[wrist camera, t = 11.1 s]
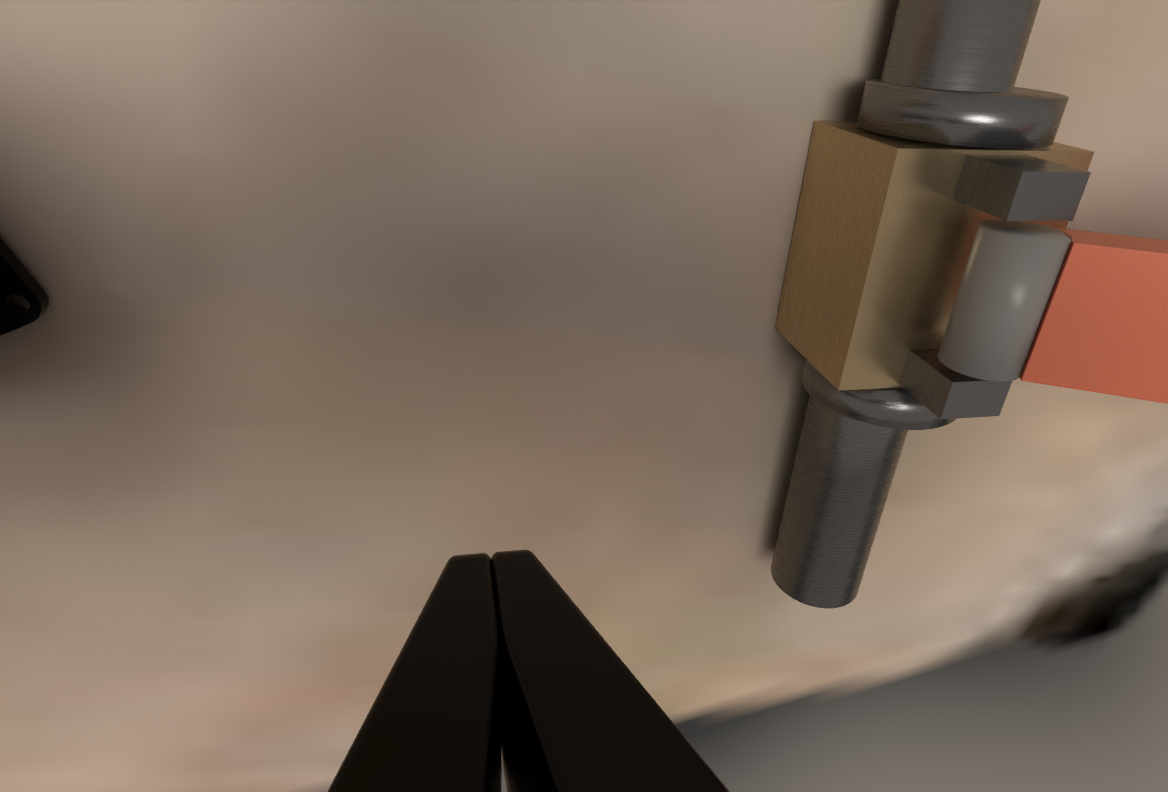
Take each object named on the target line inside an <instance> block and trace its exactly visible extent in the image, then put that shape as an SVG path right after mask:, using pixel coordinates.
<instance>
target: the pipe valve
mask: <svg viewBox="0 0 1168 792" xmlns="http://www.w3.org/2000/svg"><path fill="white" fill-rule="evenodd" d="M1040 1H1041V0H899V2H898V6H897V11H896V15H895V19H894V24H893V28H892V33H891V37H890V42H889V46H888V50H887V55H886V59H885V64H884V68H883V73H882V77H881V78H878V79H868V80H866V83H865V88H864V93H863V97H862V102H861V106H860V111H859V116H858V120H857V122H850V121H814V126H813V131H812V137H811V142H810V147H809V152H808V158H807V163H806V168H805V173H804V179H803V184H802V189H801V195H800V200H799V205H798V210H797V216H796V221H795V226H794V231H793V237H792V242H791V247H790V253H789V258H788V263H787V268H786V274H785V279H784V284H783V289H782V295H781V300H780V305H779V311H778V316H777V321H776V326H775V329H776V330H777V331H778V332H779V333H780V334H781V335H782V336H783V337H784V338H785V339H786V340H787V341H788V342H789V343H790V344H791V345H792V346H793V347H794V348H796V349H797V350H798V351H799V352H800V353H801V354H802V355H803V356H804V357H805V358H806V360H805V365H804V369H803V374H802V383H803V385H804V387H805V389H806V390H807V392H808V393H809V394H810V396H809V400H808V405H807V409H806V414H805V418H804V422H803V427H802V431H801V436H800V440H799V445H798V449H797V453H796V458H795V462H794V467H793V471H792V476H791V480H790V484H789V489H788V493H787V498H786V502H785V507H784V511H783V515H782V520H781V524H780V529H779V533H778V538H777V542H776V546H775V551H774V555H773V560H772V564H771V574H772V577H773V579H774V581H775V582H776V584H777V585H778V586H779V588H780V589H781V590H782V591H783V592H785V593H786V594H787V595H789V596H790V597H792V598H793V599H795V600H797V601H799V602H801V603H804V604H807V605H810V606H814V607H819V608H837V607H841V606H845V605H847V604H849V603H850V602H852V601H853V600H854V598H855V597H856V595H857V593H858V589H859V586H860V583H861V580H862V576H863V573H864V570H865V567H866V564H867V560H868V557H869V554H870V551H871V547H872V544H873V541H874V538H875V534H876V531H877V528H878V525H879V521H880V518H881V515H882V512H883V509H884V505H885V502H886V499H887V496H888V492H889V489H890V486H891V483H892V479H893V476H894V473H895V470H896V467H897V463H898V460H899V457H900V454H901V450H902V447H903V444H904V441H905V437H906V434H907V431H908V430H924V429H933V428H938V427H941V426H944V425H947V424H949V423H951V422H953V421H954V420H955V419H956V418H970V417H987V416H999V415H1000V412H1001V409H1002V407H1003V404H1004V401H1005V399H1006V396H1007V393H1008V391H1009V388H1010V385H1011V383H1012V381H1003V382H1000V381H988V380H982V379H977V378H973V377H969V376H966V375H963V374H961V373H958V372H956V371H954V370H952V369H950V368H948V367H946V366H945V365H944V364H943V363H941V362H940V360H939V359H938V353H939V350H940V346H941V343H942V340H943V337H944V334H945V330H946V327H947V324H948V321H949V318H950V315H951V311H952V308H953V305H954V302H955V299H956V295H957V292H958V289H959V286H960V283H961V280H962V276H963V273H964V270H965V267H966V264H967V260H968V257H969V254H970V251H971V248H972V245H973V241H974V238H975V235H976V232H977V229H978V225H979V223H980V222H981V221H985V220H1006V221H1022V222H1029V223H1034V224H1039V225H1044V226H1048V227H1051V228H1055V229H1058V228H1060V229H1066V226H1067V223H1068V221H1073V218H1074V216H1075V213H1076V210H1077V208H1078V205H1079V202H1080V200H1081V197H1082V194H1083V192H1084V189H1085V186H1086V184H1087V181H1088V178H1089V176H1090V173H1091V172H1088V171H1087V170H1088V167H1089V164H1090V162H1091V159H1092V156H1093V154H1094V152H1093V151H1089V150H1084V149H1080V148H1076V147H1072V146H1068V145H1064V144H1059V143H1055V142H1054V139H1055V136H1056V133H1057V130H1058V127H1059V124H1060V122H1061V119H1062V116H1063V113H1064V110H1065V107H1066V104H1067V101H1068V98H1069V97H1068V96H1065V95H1062V94H1058V93H1053V92H1047V91H1041V90H1034V89H1027V88H1019V87H1014V85H1015V82H1016V78H1017V75H1018V72H1019V69H1020V65H1021V62H1022V59H1023V56H1024V53H1025V49H1026V46H1027V43H1028V40H1029V36H1030V33H1031V30H1032V27H1033V23H1034V20H1035V17H1036V14H1037V11H1038V7H1039V4H1040Z"/></svg>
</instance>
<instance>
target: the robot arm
mask: <svg viewBox="0 0 1168 792" xmlns="http://www.w3.org/2000/svg"><path fill="white" fill-rule="evenodd" d="M14 294H16V295H20V296H22V297H24V298H25V299H26V300H27V301H28V303H29V305H30V308H25V307H21V306H20V305H19V304H17V303H16V302H15V300H14V298H13V295H14ZM48 307H49V299H48V296H47V294H46V293H45V291H44V290H43V288H42V287H41V286H40V285H39V284H38V282H37V281H36V280H35V279H34V278H33V276H32V275H31V274H30V273H29V272H28V270H27V269H26V268H25V267H24V266H23V264H22V263H21V262H20V261H19V260H18V258H17V257H16V256H15V255H14V254H13V252H12V251H11V250H10V249H9V248H8V246H7V245H6V244H5V243H4V242H3V240H2V239H1V238H0V336H1V335H3V334H5V333H8V332H10V331H12V330H15V329H17V328H20V327H22V326H24V325H27V324H29V323H32V322H33V321H35V320H36V319H38V318H39V317H40V316H41V315H43V314H44V313H45V312H46V311H47V309H48ZM501 750H502V760H503V770H504V776H505V782H506V788H507V792H729V790H728V789H727V788H726V786H725V785H724V784H723V783H722V782H721V780H720V779H719V778H718V777H717V776H716V774H715V773H714V772H713V771H712V770H711V768H710V767H709V766H708V765H707V764H706V762H705V761H704V760H703V759H702V757H701V756H700V755H699V754H698V753H697V751H696V750H695V749H694V748H693V746H692V745H691V744H690V743H689V742H688V740H687V739H686V738H685V737H684V736H683V734H682V733H681V732H680V731H679V730H678V728H677V727H676V726H675V725H674V723H673V722H672V721H671V720H670V719H669V717H668V716H667V715H666V714H665V713H664V711H663V710H662V709H661V708H660V706H659V705H658V704H657V703H656V702H655V700H654V699H653V698H652V697H651V696H650V694H649V693H648V692H647V691H646V689H645V688H644V687H643V686H642V685H641V683H640V682H639V681H638V680H637V679H636V677H635V676H634V675H633V674H632V673H631V671H630V670H629V669H628V668H627V666H626V665H625V664H624V663H623V662H622V660H621V659H620V658H619V657H618V656H617V654H616V653H615V652H614V651H613V650H612V648H611V647H610V646H609V645H608V643H607V642H606V641H605V640H604V639H603V637H602V636H601V635H600V634H599V633H598V631H597V630H596V629H595V628H594V626H593V625H592V624H591V623H590V622H589V620H588V619H587V618H586V617H585V616H584V614H583V613H582V612H581V611H580V610H579V608H578V607H577V606H576V605H575V603H574V602H573V601H572V600H571V599H570V597H569V596H568V595H567V594H566V593H565V591H564V590H563V589H562V588H561V587H560V585H559V584H558V583H557V582H556V580H555V579H554V578H553V577H552V576H551V574H550V573H549V572H548V571H547V570H546V568H545V567H544V566H543V565H542V564H541V562H540V561H539V560H538V559H537V557H536V556H535V555H534V554H533V553H532V552H531V551H529V550H515V551H503V552H496V553H494V554H493V556H492V558H491V559H490V557H489V555H488V554H486V553H479V554H467V555H456V556H453V557H451V558H450V559H449V561H448V562H447V564H446V566H445V567H444V569H443V571H442V573H441V575H440V577H439V579H438V581H437V583H436V585H435V587H434V589H433V590H432V592H431V594H430V596H429V598H428V600H427V602H426V604H425V606H424V608H423V610H422V612H421V613H420V615H419V617H418V619H417V621H416V623H415V625H414V627H413V629H412V631H411V633H410V635H409V636H408V638H407V640H406V642H405V644H404V646H403V648H402V650H401V652H400V654H399V656H398V657H397V659H396V661H395V663H394V665H393V667H392V669H391V671H390V673H389V675H388V677H387V679H386V680H385V682H384V684H383V686H382V688H381V690H380V692H379V694H378V696H377V698H376V700H375V702H374V703H373V705H372V707H371V709H370V711H369V713H368V715H367V717H366V719H365V721H364V723H363V725H362V726H361V728H360V730H359V732H358V734H357V736H356V738H355V740H354V742H353V744H352V746H351V747H350V749H349V751H348V753H347V755H346V757H345V759H344V761H343V763H342V765H341V767H340V769H339V770H338V772H337V774H336V776H335V778H334V780H333V782H332V784H331V786H330V788H329V790H328V792H501V778H502V777H501V776H502V775H501V774H502V767H501V766H502V761H501Z"/></svg>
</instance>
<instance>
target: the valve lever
mask: <svg viewBox="0 0 1168 792" xmlns="http://www.w3.org/2000/svg"><path fill="white" fill-rule="evenodd" d="M938 359H939V360H940V362H941V363H943V364H944V365H945V366H946V367H948V368H950V369H952V370H954V371H956V372H958V373H961V374H963V375H966V376H969V377H973V378H977V379H982V380H988V381H1000V382H1003V381H1012V380H1015V379H1018V378H1019V377H1020V379H1021V381H1027V382H1034V383H1040V384H1046V385H1053V386H1059V387H1066V388H1072V389H1078V390H1085V391H1091V392H1097V393H1104V394H1110V395H1117V396H1123V397H1129V398H1136V399H1142V400H1148V401H1155V402H1161V403H1168V240H1159V239H1150V238H1141V237H1132V236H1123V235H1114V234H1105V233H1096V232H1087V231H1078V230H1069V229H1060V228H1058V229H1055V228H1051V227H1048V226H1044V225H1039V224H1034V223H1029V222H1022V221H1006V220H985V221H981V222H980V223H979V225H978V229H977V232H976V235H975V238H974V241H973V245H972V248H971V251H970V254H969V257H968V260H967V264H966V267H965V270H964V273H963V276H962V280H961V283H960V286H959V289H958V292H957V295H956V299H955V302H954V305H953V308H952V311H951V315H950V318H949V321H948V324H947V327H946V330H945V334H944V337H943V340H942V343H941V346H940V350H939V353H938Z"/></svg>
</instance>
